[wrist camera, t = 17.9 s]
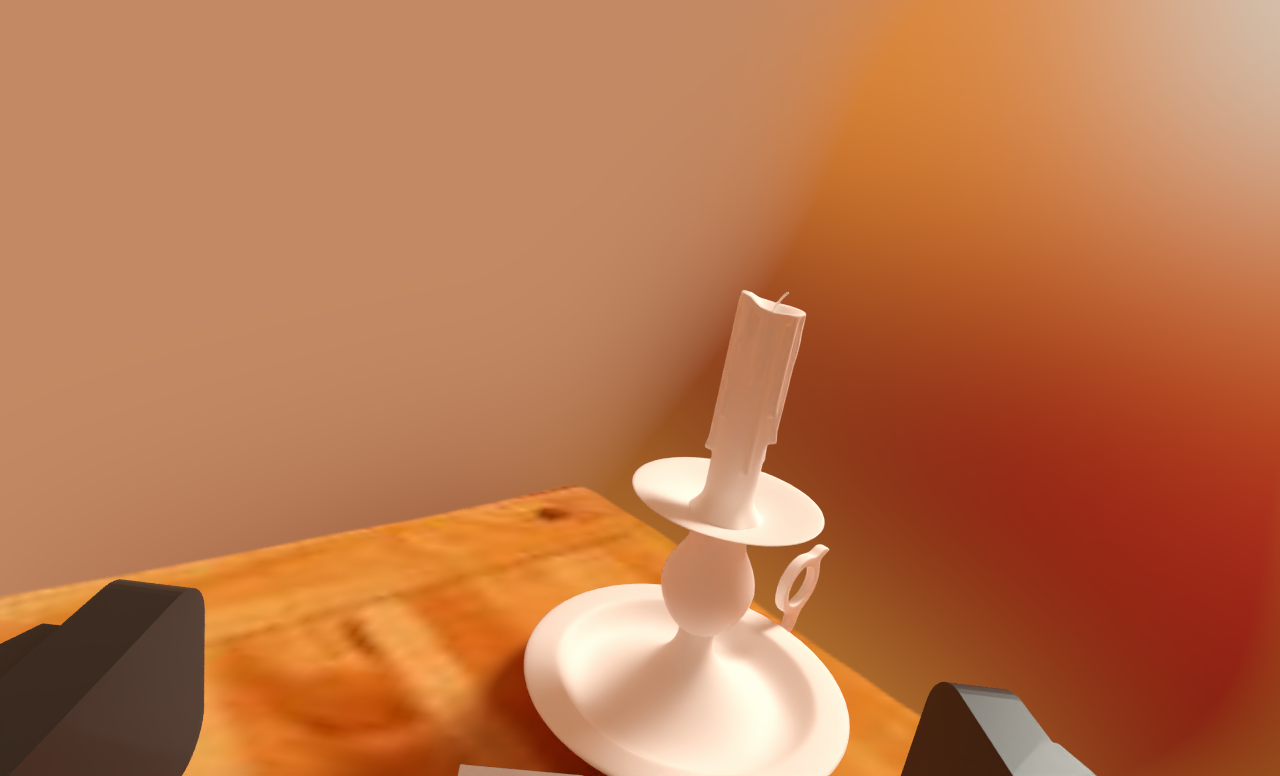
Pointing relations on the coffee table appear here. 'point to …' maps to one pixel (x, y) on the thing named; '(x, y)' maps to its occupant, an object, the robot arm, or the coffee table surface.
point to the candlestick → (704, 607)
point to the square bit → (501, 772)
